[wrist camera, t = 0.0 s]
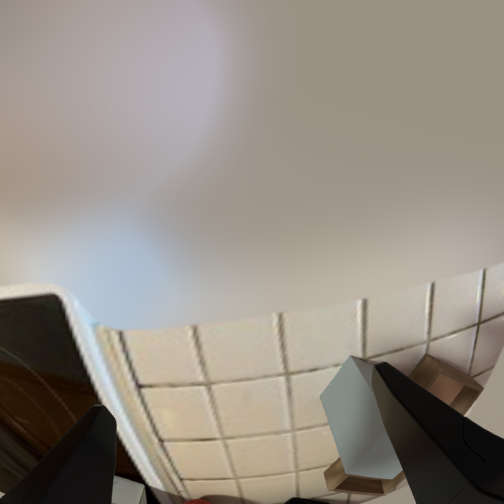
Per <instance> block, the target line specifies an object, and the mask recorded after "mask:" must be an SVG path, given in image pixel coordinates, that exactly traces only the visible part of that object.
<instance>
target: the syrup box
mask: <svg viewBox="0 0 504 504" xmlns="http://www.w3.org/2000/svg"><path fill="white" fill-rule="evenodd" d="M112 504H147V498H146V491H145V485H143V484H140V483H137V482H134V481H131V480H128V479H125V478H121V477H118V476H115V475H114V481H113V492H112Z"/></svg>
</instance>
